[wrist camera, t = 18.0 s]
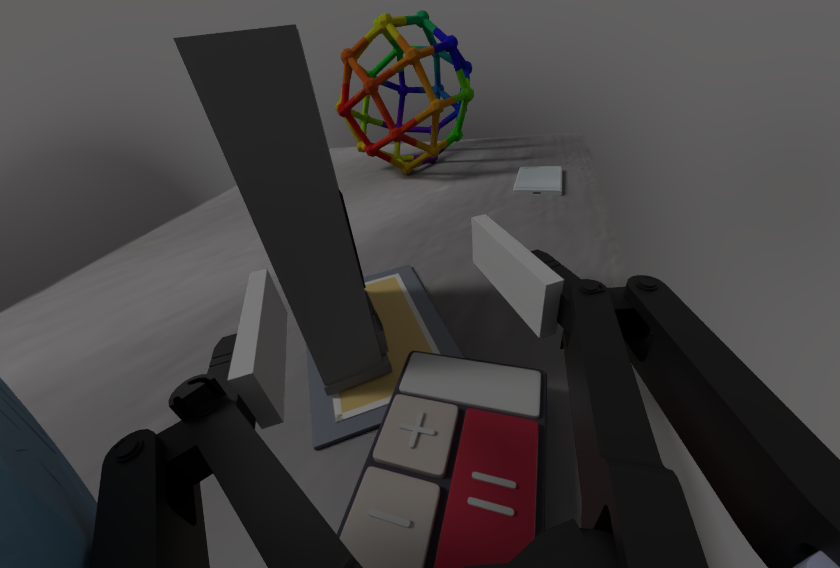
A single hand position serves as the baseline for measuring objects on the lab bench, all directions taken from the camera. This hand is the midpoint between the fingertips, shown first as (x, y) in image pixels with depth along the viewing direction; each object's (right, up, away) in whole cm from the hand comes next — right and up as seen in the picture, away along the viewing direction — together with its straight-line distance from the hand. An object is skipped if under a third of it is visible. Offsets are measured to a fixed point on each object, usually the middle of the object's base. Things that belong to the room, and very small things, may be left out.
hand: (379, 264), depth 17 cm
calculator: (+5, -14, +6) cm, 16 cm away
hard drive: (+25, +18, +47) cm, 56 cm away
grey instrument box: (-5, -6, +18) cm, 20 cm away
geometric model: (+1, +27, +63) cm, 69 cm away
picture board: (-3, -6, +18) cm, 19 cm away
